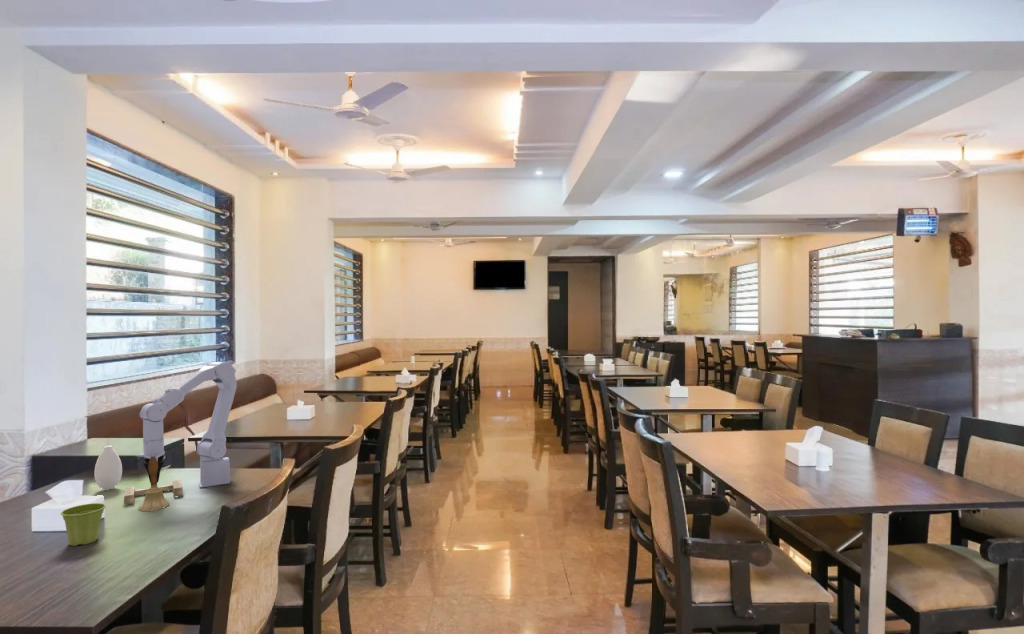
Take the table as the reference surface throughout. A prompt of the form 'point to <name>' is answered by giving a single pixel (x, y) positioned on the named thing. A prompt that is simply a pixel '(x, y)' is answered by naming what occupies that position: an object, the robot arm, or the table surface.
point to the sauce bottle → (108, 468)
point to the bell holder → (131, 491)
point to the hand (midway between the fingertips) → (154, 480)
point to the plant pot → (83, 523)
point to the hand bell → (153, 490)
